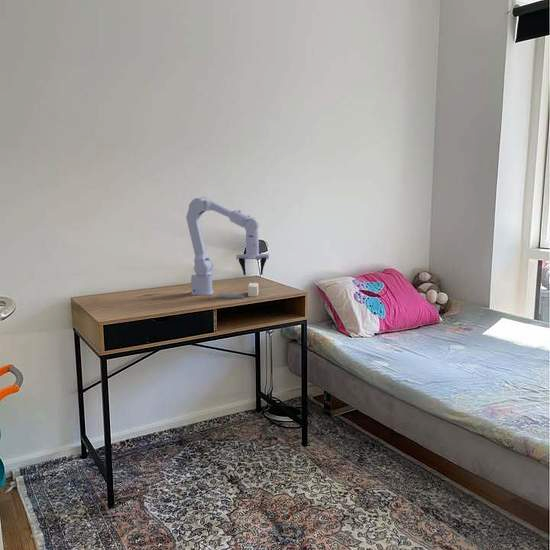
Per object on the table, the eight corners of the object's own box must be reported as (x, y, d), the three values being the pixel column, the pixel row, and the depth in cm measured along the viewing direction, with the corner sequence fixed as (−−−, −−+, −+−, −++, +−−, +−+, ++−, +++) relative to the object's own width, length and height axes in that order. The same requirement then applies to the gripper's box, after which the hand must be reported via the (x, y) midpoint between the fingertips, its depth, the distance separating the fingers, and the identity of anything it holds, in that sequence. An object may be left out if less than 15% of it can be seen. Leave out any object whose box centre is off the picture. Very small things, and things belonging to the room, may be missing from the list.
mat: (217, 298, 242) (217, 297, 242) (219, 294, 251) (219, 293, 250) (244, 298, 241) (244, 297, 241) (245, 293, 250) (245, 293, 250)
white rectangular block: (248, 296, 245) (248, 286, 245) (249, 292, 254) (249, 283, 253) (257, 296, 245) (256, 286, 244) (258, 292, 254) (258, 283, 253)
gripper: (235, 246, 242) (236, 276, 244) (267, 245, 241) (268, 276, 244) (237, 244, 249) (237, 273, 251) (268, 244, 248) (269, 273, 250)
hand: (253, 274), depth 248 cm, fingers open, 7 cm apart
